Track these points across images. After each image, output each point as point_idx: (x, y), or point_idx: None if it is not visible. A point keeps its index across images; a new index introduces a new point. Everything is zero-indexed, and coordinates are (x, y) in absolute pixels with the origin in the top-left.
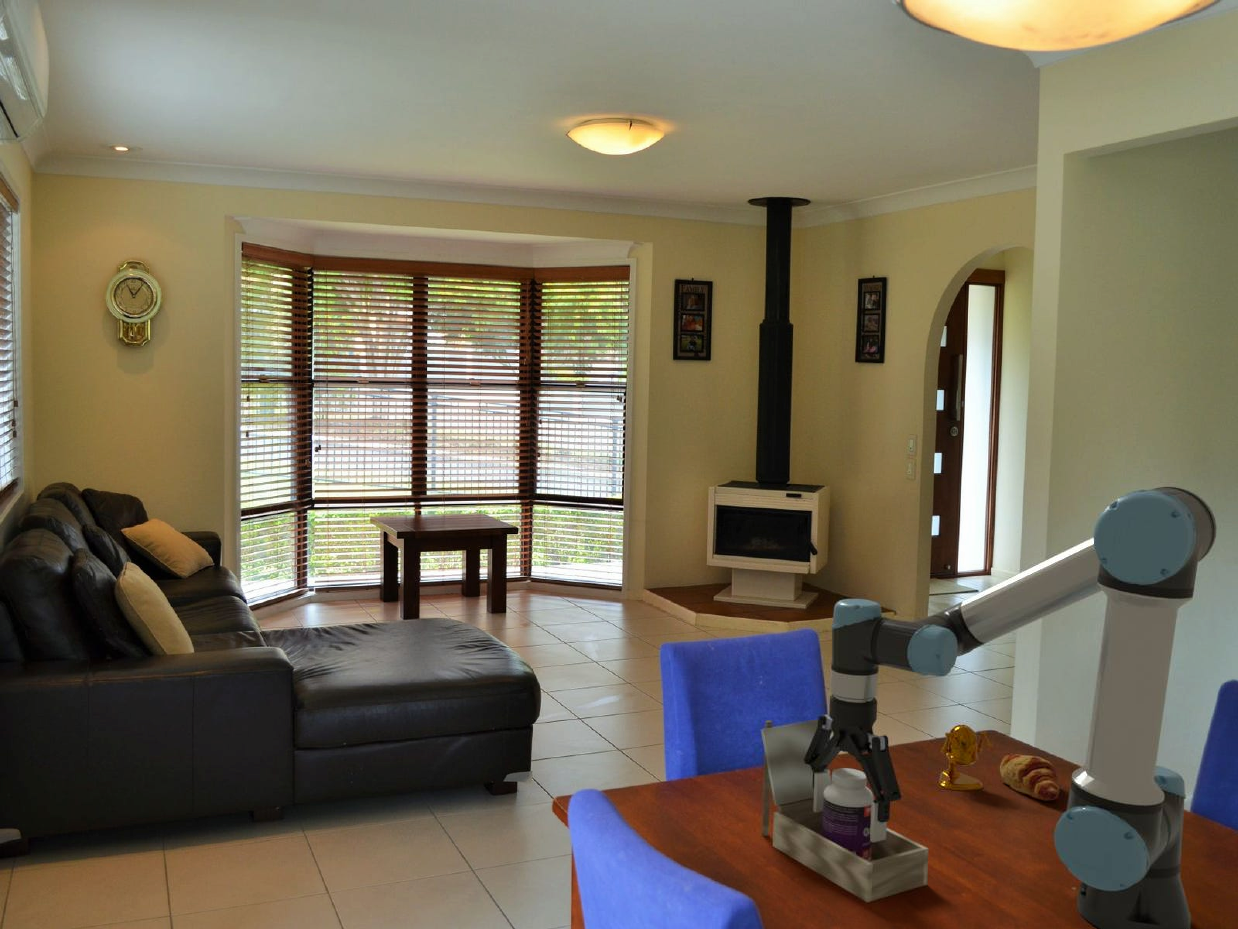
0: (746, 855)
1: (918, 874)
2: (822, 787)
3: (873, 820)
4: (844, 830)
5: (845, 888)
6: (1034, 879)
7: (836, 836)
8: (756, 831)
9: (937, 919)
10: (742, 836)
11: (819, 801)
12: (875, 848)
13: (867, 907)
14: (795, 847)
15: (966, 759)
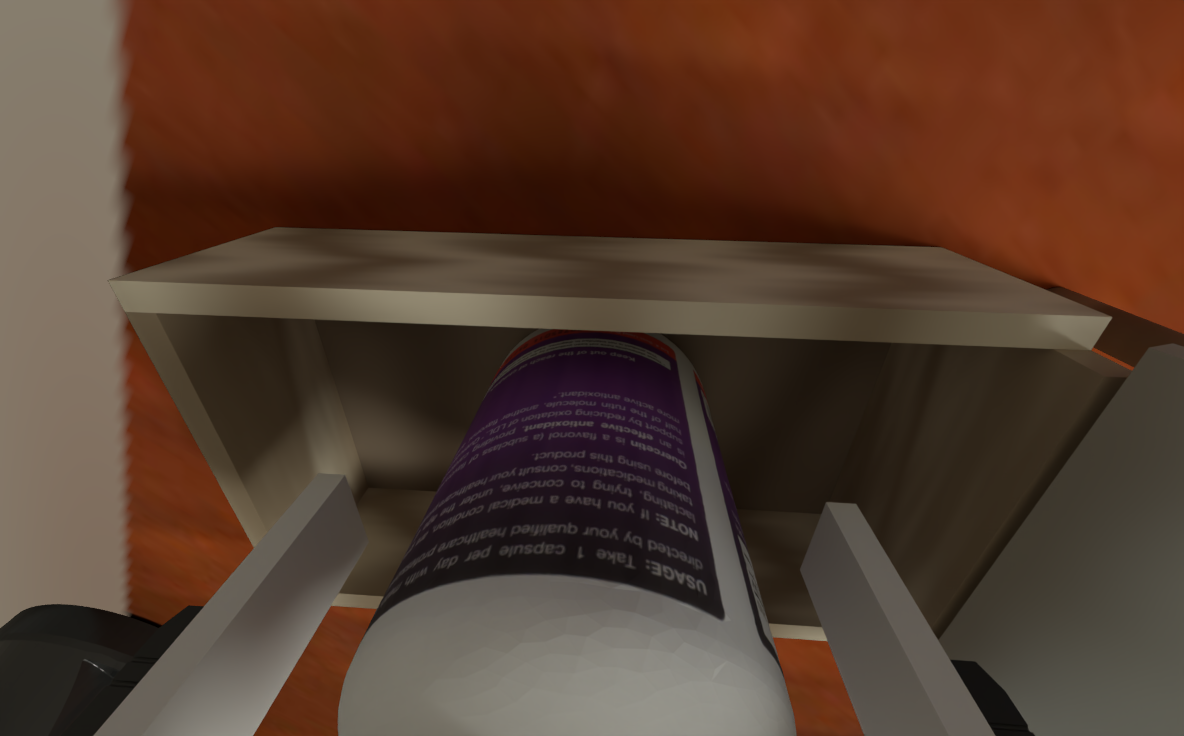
0: (1007, 10)
1: None
2: (894, 711)
3: (222, 594)
4: (472, 443)
5: (406, 232)
6: (328, 663)
7: (527, 393)
8: (1116, 295)
9: (122, 355)
10: (1167, 183)
11: (849, 581)
12: None
13: (234, 195)
14: (780, 259)
15: None
